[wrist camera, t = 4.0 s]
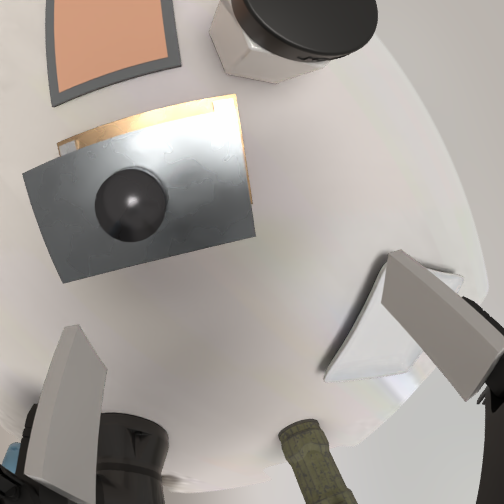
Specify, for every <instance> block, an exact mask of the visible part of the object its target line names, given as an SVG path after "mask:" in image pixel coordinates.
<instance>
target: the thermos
mask: <svg viewBox="0 0 504 504" xmlns="http://www.w3.org/2000/svg"><path fill="white" fill-rule="evenodd" d="M279 439H280V441H281V444H282V445H281V446H282V450H283V453H284V455H285V458H286V460H287V461H288V462H289V464H290V465H291V466H292V469H293V471H294V474H295V476H296V479H297V482H298V484H299V487H300V489H301V492H302V494H303V497H304V500H305V502H306V504H358V503H357V501H356V499H355V498H354V495H353V493H352V491H351V490H350V489H348V488H347V487H346V485H345V483H344V481H343V479H342V477H341V474H340V472H339V470H338V468H337V466H336V464H335V462H334V459H333V457H332V455H331V453H330V451H329V442H328V440H327V438H326V436H325V434H324V432H323V431H322V430H321V428H320V426H319V423H318V421H317V420H314V419H307V420H302V421H298V422H295V423H293V424H291V425H289V426H287V427H286V428H284V429H283V430H282V431H281V432H280V433H279Z"/></svg>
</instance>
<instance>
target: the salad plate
mask: <svg viewBox="0 0 504 504" xmlns="http://www.w3.org/2000/svg"><path fill="white" fill-rule="evenodd" d="M386 266H387V262H386V263H385V264H384V265H383V267H382V268H381V270H380V272H379V274H378V277H377V279H376V281H375V283H374V285H373V288H372V290H371V292H370V294H369V296H368V298H367V300H366V303H365V305H364V307H363V308H362V310H361V312H360V314H359V316H358V318H357V320H356V321H355V323H354V325H353V327H352V329H351V331H350V332H349V334H348V336H347V337H346V339H345V341H344V342H343V344H342V346H341V347H340V349H339V350H338V352H337V354H336V355H335V357H334V358H333V360H332V361H331V363H330V364H329V366H328V368H327V370H326V372H325V375H324V382H326V383H332V382H344V381H354V380H362V379H370V378H378V377H384V376H391V375H397V374H403V373H407V372H408V371H409V370H410V369H411V368H412V366H413V365H414V363H415V362H416V361H417V359H418V358H419V356H420V355H421V354H422V352H423V350H422V348H421V347H420V346H419V345H418V344H417V343H416V342H415V340H414V339H413V338H412V337H411V336H410V335H409V334H408V332H407V331H406V330H405V329H404V328H403V327H402V326H401V325H400V323H399V322H398V321H397V320H396V319H395V318H394V317H393V316H392V315H391V314H390V312H389V311H388V310H387V309H386V308H385V307H384V306H383V305H382V304H381V299H382V293H383V287H384V281H385V274H386ZM426 269H427V270H429V271H430V272H431V273H432V274H434V275H435V276H436V277H437V278H439V279H440V280H441V281H442V282H444V283H445V284H446V285H447V286H448V287H450V288H451V289H452V290H453V291H454V292H456V293H458V291H459V289H460V288H461V285H462V283H463V281H464V277H463V276H461V275H458V274H451V273H445V272H440V271H436V270H432V269H429V268H426Z"/></svg>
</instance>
